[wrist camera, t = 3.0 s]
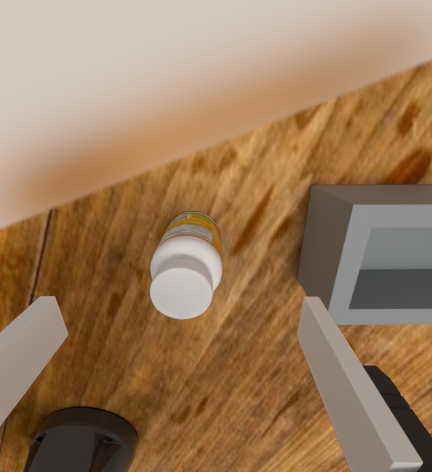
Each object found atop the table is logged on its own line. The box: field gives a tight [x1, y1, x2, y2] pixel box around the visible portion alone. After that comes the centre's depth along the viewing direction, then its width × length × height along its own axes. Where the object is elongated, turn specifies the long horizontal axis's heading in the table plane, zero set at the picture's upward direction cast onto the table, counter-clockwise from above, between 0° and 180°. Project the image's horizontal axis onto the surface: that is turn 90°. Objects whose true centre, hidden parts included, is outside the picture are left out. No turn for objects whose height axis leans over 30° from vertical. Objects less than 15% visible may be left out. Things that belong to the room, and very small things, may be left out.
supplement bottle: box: [150, 212, 222, 319], centre depth 19 cm, size 5×5×10 cm
